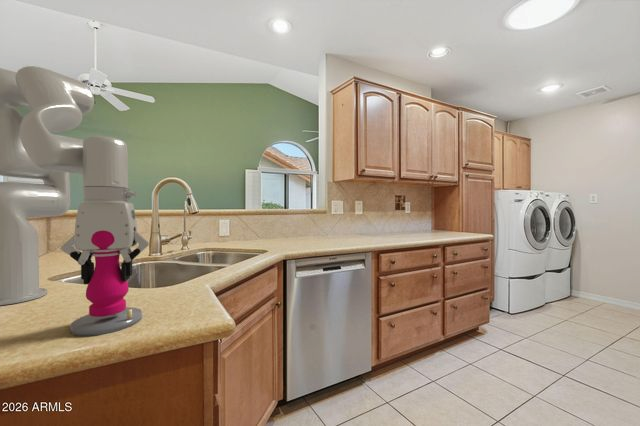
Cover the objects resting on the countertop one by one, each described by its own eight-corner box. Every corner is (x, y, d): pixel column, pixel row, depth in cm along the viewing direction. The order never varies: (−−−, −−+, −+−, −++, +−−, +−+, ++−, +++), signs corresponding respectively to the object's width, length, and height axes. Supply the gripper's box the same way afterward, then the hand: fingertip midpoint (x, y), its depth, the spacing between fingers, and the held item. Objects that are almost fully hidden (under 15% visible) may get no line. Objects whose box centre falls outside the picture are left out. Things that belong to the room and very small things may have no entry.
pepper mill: (78, 320, 54) (77, 218, 54) (95, 307, 61) (94, 217, 61) (121, 315, 56) (120, 218, 56) (133, 303, 63) (132, 217, 63)
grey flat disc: (53, 333, 54) (53, 317, 54) (110, 311, 66) (110, 297, 66) (105, 338, 52) (105, 321, 52) (154, 314, 64) (154, 300, 64)
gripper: (156, 197, 65) (157, 273, 65) (65, 196, 59) (66, 280, 59) (149, 196, 58) (149, 281, 58) (44, 195, 52) (45, 290, 52)
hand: (107, 280), depth 59 cm, fingers closed on pepper mill, 5 cm apart
